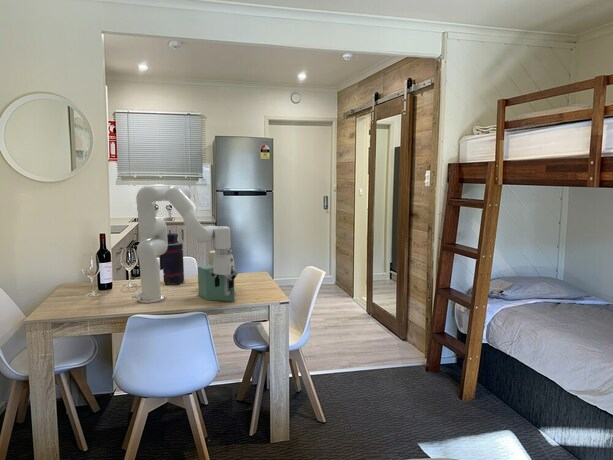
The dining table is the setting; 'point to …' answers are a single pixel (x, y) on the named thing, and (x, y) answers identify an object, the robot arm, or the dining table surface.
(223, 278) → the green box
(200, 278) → the cooler
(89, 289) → the dining table surface
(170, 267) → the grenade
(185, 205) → the robot arm
